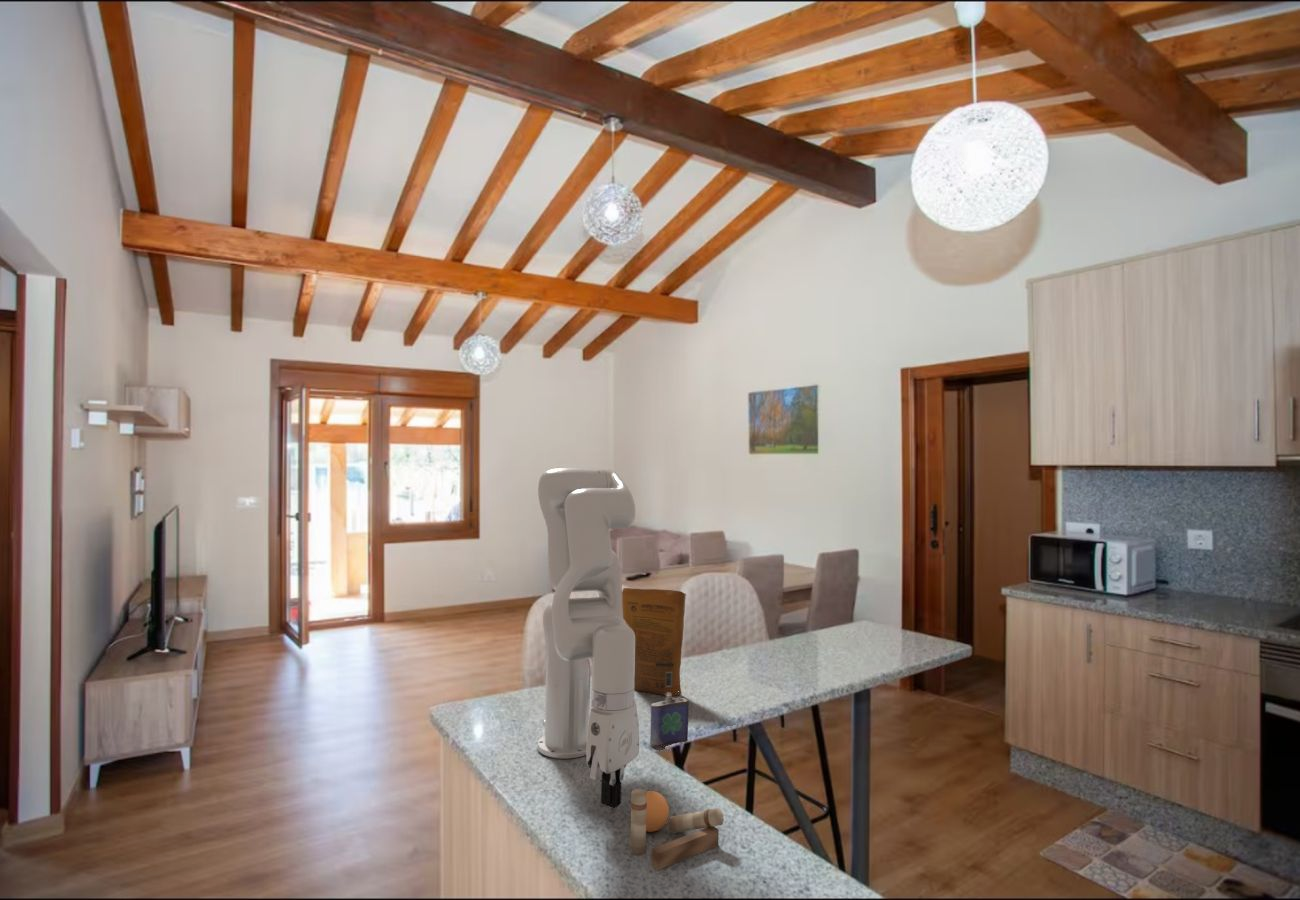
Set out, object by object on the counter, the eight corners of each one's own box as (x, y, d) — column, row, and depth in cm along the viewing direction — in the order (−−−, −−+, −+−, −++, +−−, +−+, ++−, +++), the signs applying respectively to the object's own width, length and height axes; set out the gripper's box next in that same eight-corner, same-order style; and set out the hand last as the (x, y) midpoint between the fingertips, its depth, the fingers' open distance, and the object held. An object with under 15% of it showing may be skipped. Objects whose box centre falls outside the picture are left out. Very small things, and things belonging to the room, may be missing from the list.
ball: (668, 817, 107) (656, 846, 108) (677, 793, 113) (665, 821, 114) (634, 799, 108) (623, 828, 110) (645, 777, 114) (634, 804, 115)
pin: (671, 812, 112) (717, 804, 108) (679, 824, 112) (725, 816, 108) (667, 824, 109) (713, 816, 105) (674, 836, 110) (721, 829, 106)
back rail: (657, 870, 100) (658, 853, 100) (651, 865, 101) (652, 848, 101) (718, 845, 107) (718, 829, 107) (712, 841, 108) (712, 825, 108)
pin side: (627, 849, 105) (628, 791, 105) (640, 844, 107) (641, 787, 107) (635, 856, 103) (636, 797, 103) (649, 851, 105) (650, 793, 105)
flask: (653, 748, 144) (654, 698, 144) (647, 743, 146) (648, 694, 147) (690, 741, 148) (691, 692, 148) (683, 736, 151) (684, 688, 151)
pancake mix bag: (679, 700, 174) (680, 593, 175) (615, 689, 183) (617, 586, 184) (689, 693, 180) (690, 589, 181) (627, 682, 189) (629, 583, 190)
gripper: (603, 715, 109) (601, 829, 108) (654, 690, 121) (652, 793, 120) (568, 705, 113) (566, 816, 112) (620, 683, 125) (618, 782, 125)
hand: (610, 804), depth 116 cm, fingers closed
